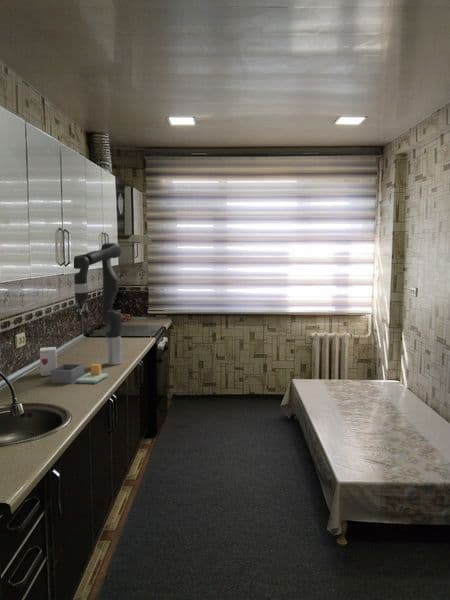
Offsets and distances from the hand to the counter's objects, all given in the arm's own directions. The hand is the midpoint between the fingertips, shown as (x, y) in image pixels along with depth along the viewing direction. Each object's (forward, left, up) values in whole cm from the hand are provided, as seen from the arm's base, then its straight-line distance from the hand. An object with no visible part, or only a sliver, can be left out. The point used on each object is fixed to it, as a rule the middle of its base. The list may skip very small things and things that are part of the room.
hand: (82, 319), depth 296 cm
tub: (+12, -5, -32) cm, 34 cm away
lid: (+11, +9, -32) cm, 35 cm away
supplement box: (0, -23, -32) cm, 40 cm away
